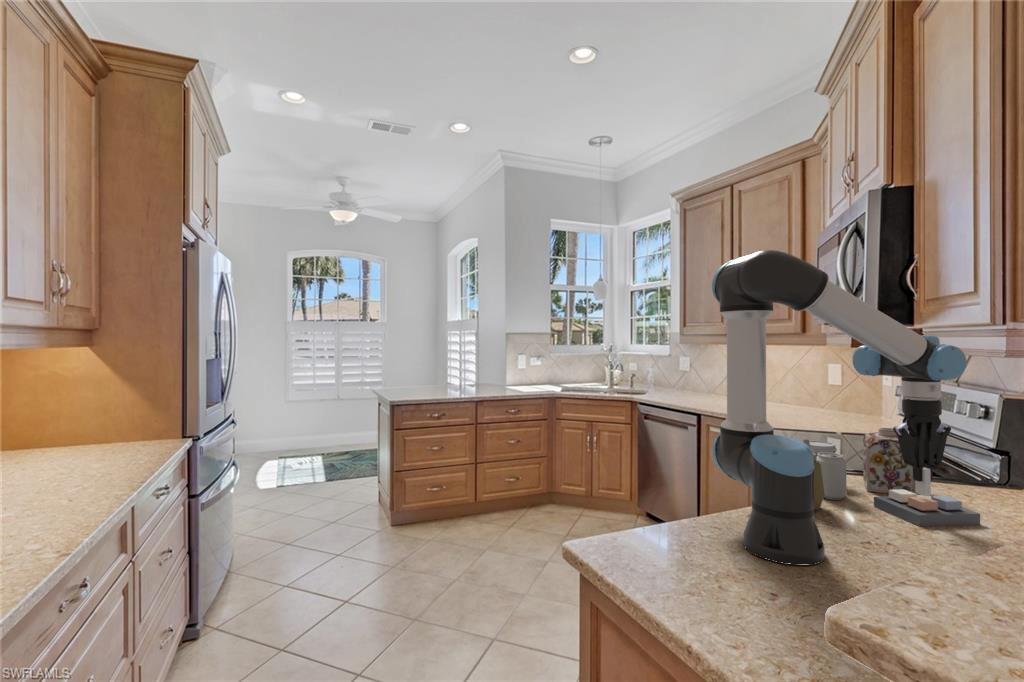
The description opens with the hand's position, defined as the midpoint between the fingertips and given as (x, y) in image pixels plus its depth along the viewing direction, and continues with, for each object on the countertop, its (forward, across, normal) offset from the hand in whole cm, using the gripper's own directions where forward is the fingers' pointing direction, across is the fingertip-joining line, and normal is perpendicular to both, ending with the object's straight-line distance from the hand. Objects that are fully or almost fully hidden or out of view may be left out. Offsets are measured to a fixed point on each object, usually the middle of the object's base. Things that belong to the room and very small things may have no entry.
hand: (923, 494), depth 121 cm
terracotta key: (+4, 0, 0) cm, 4 cm away
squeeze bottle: (+6, -22, +11) cm, 26 cm away
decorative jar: (+7, +11, +24) cm, 27 cm away
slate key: (+4, +6, 0) cm, 7 cm away
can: (+6, -10, +19) cm, 22 cm away
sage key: (+6, +6, +6) cm, 10 cm away
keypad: (+6, +3, +3) cm, 8 cm away
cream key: (+4, 0, +6) cm, 7 cm away
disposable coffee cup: (+7, -4, +33) cm, 34 cm away
